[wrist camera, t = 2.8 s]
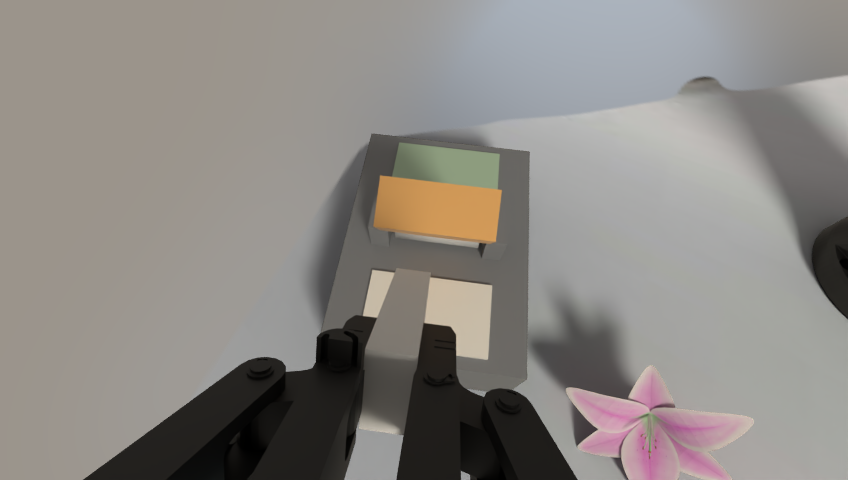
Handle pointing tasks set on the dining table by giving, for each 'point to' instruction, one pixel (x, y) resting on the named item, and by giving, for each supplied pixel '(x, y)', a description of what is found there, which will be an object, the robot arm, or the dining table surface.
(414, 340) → the robot arm
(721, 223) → the dining table surface
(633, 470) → the lily
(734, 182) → the dining table surface
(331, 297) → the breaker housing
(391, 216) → the breaker lever
